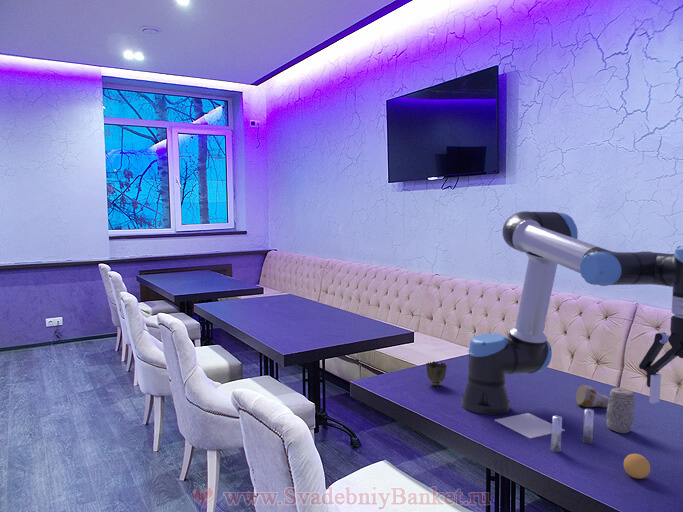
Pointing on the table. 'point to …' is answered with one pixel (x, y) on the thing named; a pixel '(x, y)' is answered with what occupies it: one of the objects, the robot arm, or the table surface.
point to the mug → (590, 397)
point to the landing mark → (527, 425)
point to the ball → (637, 466)
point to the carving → (620, 410)
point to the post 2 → (588, 426)
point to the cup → (436, 372)
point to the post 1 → (556, 433)
